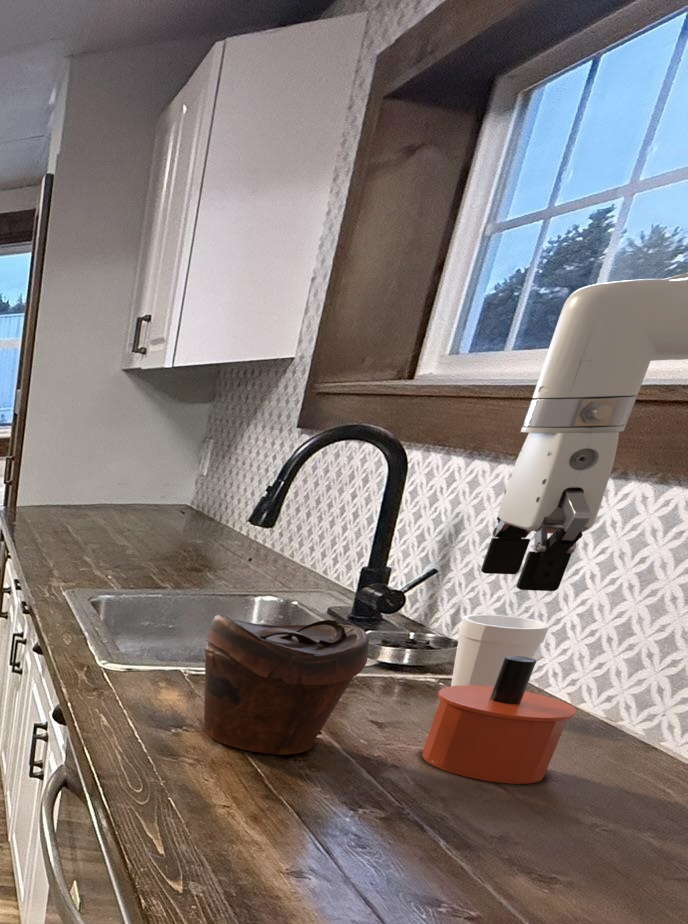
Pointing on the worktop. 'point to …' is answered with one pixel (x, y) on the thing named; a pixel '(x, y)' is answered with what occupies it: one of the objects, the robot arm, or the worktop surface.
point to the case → (277, 681)
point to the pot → (491, 745)
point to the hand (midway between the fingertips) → (516, 581)
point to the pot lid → (509, 696)
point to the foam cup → (493, 646)
